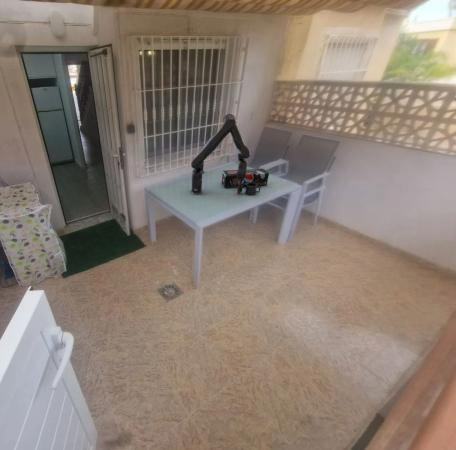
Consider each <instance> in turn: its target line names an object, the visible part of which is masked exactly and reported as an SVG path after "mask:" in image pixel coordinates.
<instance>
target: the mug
mask: <svg viewBox="0 0 456 450" xmlns="http://www.w3.org/2000/svg"><path fill="white" fill-rule="evenodd" d="M257 188H258V190H257ZM261 188H262V186H257V184H256V183H247V184H246V187H245V190H244V191H245V192H244V194H245V195H248V196H255V195H256V193H260V192H261Z"/></svg>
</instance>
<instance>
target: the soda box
mask: <svg viewBox="0 0 456 450" xmlns="http://www.w3.org/2000/svg"><path fill="white" fill-rule="evenodd" d="M237 171H238V169H229V170H228V169H227V170H222V173H221V184H222V186H223V187H224V189H225V188H227V189H229V188H238V178H237ZM269 176H270V173H269V172H268V171H267V170H266V169H265V168H249V169H248V168H247V172H246V178H244V179H243V180H244V185H243V188H246V184H247V183H256V184H257V186H260V187H266V186H267V185H268V181H269ZM241 187H242V186H241Z"/></svg>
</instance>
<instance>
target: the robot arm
mask: <svg viewBox="0 0 456 450" xmlns="http://www.w3.org/2000/svg"><path fill="white" fill-rule="evenodd" d="M229 134H230V135H231V138H232V141H233V143H234V146H235V148H236V149H237V150H238V151H237V160H238V165H237V170H238V171H237V178H238V187H239V192H241V193H242V191H243V189H244V187H243V185H244V180H243V179H244V178H246V172H247V169H248V160H246V159H249V158H250V157H251V149H250V148H249V147H248V146H247V144H246V142H245V140H244V138H243V136H242V134H241V132H240V130H239V127H238V125H237V118H236V116H235V115H234V114H232V113H227V114H225V115H224V117H223V119H222V126H221V127H220V129H219V130H218V131H217V132H216V133H214V134H212V135H211V136H210V137H209V139H207V141H206V142H205V144H204V145H203V146H202V147H201V149H200V151H199V152H198V154H196V155H195V157H194V158H193V159H191V162H190V166H191V168H192V171H191V191H190V193H191V194H193V195H200V194H202V188H203V174H204V168H205V167H204V165H205V164H204V163H205V160H206V159H207V158H208V157H209V156H210V155H211V154H212V153H213V152H214V151H216V149H217V148H218V147H219V145H221V143H222V142H223V141H224V139H225V138H226V137H227V136H228V135H229ZM241 186H242V187H241ZM238 187H237V188H238Z"/></svg>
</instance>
